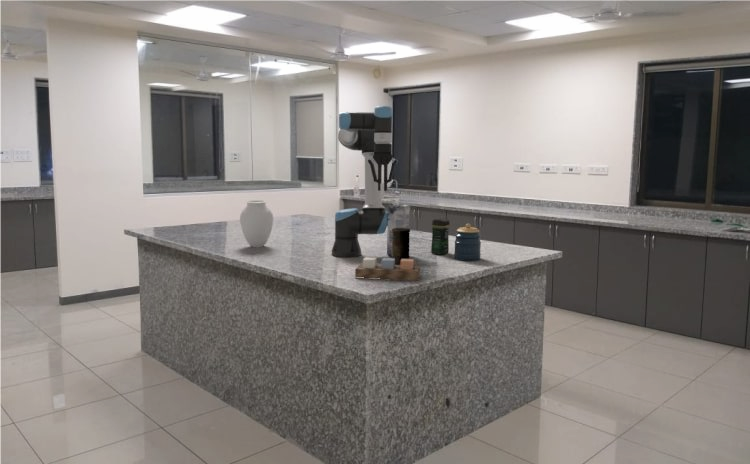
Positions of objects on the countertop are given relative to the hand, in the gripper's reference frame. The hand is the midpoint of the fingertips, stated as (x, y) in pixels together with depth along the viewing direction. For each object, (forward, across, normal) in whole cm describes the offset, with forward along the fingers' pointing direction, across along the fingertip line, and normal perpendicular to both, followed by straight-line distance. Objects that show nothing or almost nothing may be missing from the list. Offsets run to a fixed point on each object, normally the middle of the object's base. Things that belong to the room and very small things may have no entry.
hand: (382, 198), depth 248 cm
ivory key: (+31, -4, -9) cm, 32 cm away
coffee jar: (+33, +23, +51) cm, 65 cm away
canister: (+33, +37, +39) cm, 63 cm away
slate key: (+31, +4, -9) cm, 32 cm away
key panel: (+32, +4, -9) cm, 34 cm away
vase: (+33, -77, +52) cm, 98 cm away
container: (+33, +7, +10) cm, 35 cm away
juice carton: (+33, +2, +41) cm, 52 cm away
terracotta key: (+31, +12, -9) cm, 34 cm away
